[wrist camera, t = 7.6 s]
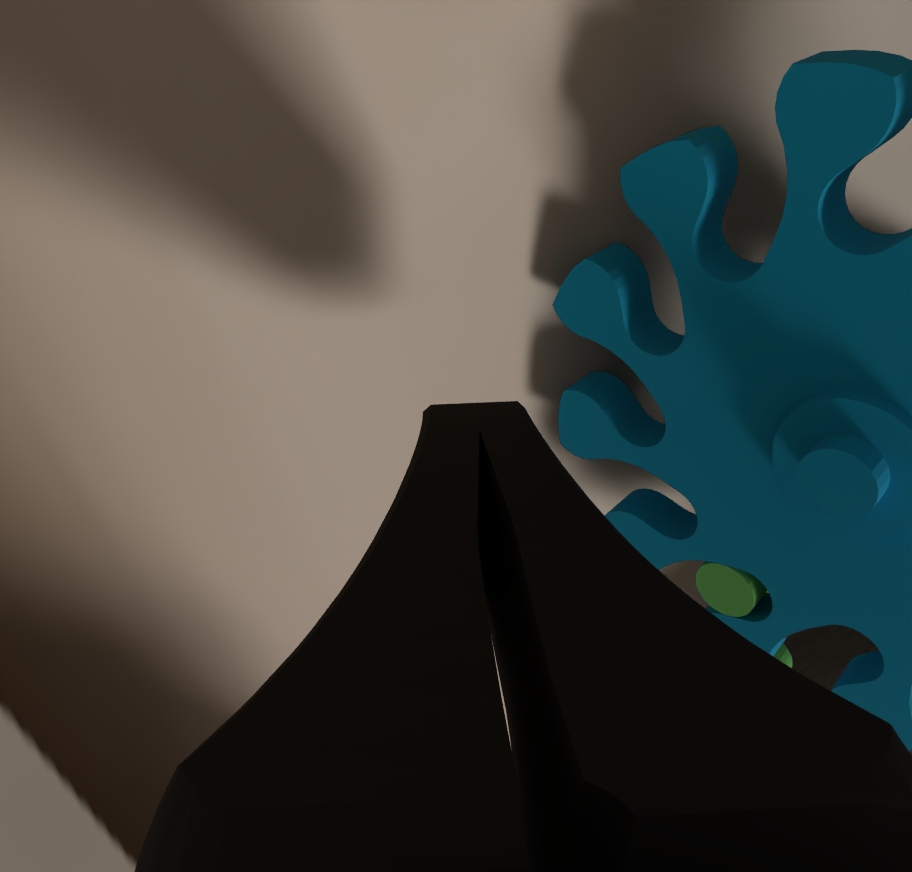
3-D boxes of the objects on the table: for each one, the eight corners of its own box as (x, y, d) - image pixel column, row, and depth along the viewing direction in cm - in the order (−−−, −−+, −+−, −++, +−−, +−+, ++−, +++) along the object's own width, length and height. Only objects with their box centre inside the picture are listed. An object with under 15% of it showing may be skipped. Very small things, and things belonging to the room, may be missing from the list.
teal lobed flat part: (629, -80, 9) (1978, 406, 5) (842, -105, 13) (1737, 165, 8) (472, 542, 17) (952, 939, 13) (632, 418, 20) (1049, 696, 16)
